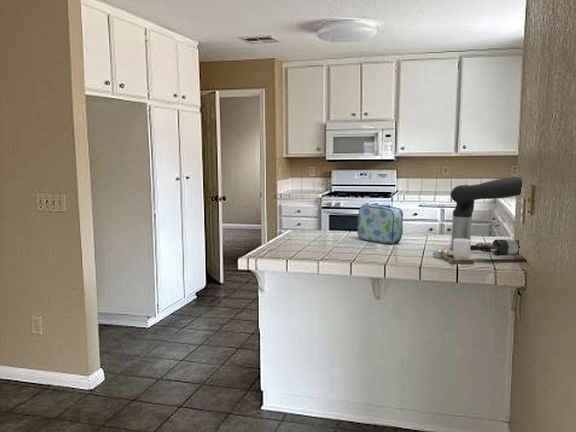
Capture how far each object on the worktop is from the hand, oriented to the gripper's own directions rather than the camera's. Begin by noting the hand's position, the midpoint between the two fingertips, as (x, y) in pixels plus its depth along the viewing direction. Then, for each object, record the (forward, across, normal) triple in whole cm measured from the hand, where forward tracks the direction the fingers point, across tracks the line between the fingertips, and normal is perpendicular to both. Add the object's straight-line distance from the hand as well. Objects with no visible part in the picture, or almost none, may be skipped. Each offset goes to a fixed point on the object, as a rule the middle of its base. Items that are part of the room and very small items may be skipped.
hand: (469, 247), depth 239 cm
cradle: (+5, 0, +6) cm, 8 cm away
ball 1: (+10, -10, +4) cm, 15 cm away
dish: (+9, -9, +6) cm, 14 cm away
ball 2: (+8, -8, +4) cm, 12 cm away
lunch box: (+25, -54, +7) cm, 60 cm away
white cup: (+4, 0, +7) cm, 8 cm away
